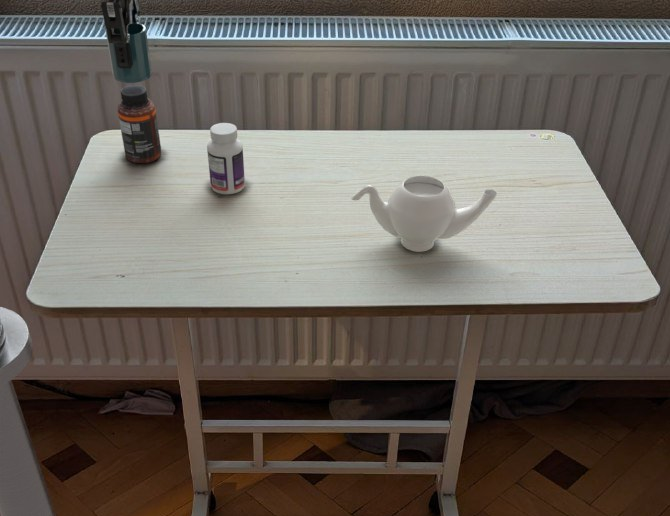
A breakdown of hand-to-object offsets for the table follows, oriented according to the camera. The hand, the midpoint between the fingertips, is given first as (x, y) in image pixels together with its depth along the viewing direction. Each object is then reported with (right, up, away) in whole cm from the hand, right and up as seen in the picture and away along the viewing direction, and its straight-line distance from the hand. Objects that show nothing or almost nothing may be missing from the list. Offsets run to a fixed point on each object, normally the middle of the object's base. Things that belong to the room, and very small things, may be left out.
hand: (129, 58), depth 127 cm
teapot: (+43, -29, -5) cm, 53 cm away
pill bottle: (+14, -18, +5) cm, 24 cm away
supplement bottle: (0, -12, +11) cm, 16 cm away
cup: (0, -2, +2) cm, 3 cm away
